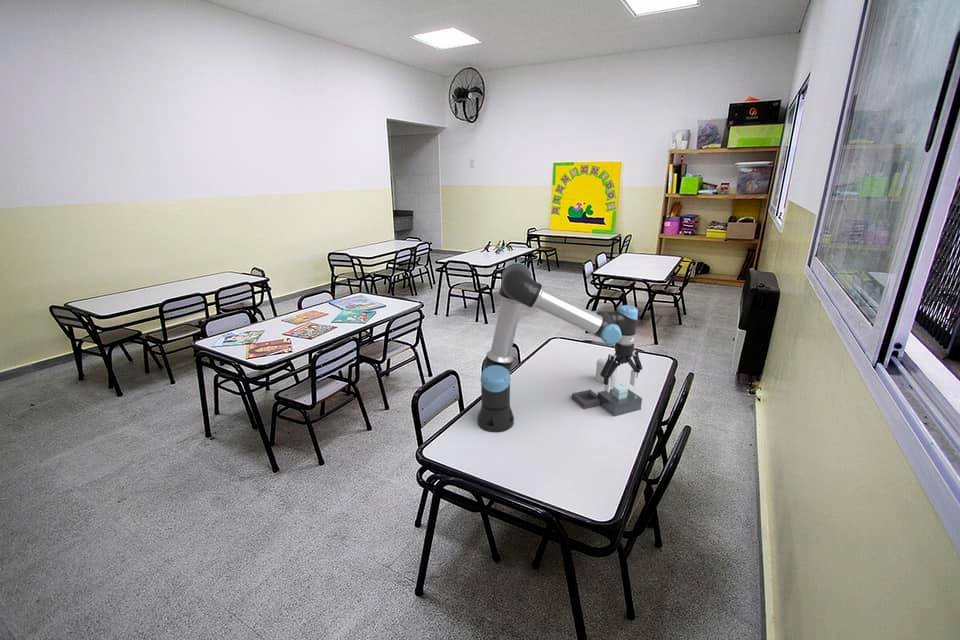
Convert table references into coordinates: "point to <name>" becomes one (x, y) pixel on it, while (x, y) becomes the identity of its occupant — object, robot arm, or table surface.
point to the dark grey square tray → (586, 399)
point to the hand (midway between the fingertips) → (619, 387)
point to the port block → (619, 403)
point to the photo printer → (599, 368)
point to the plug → (619, 391)
